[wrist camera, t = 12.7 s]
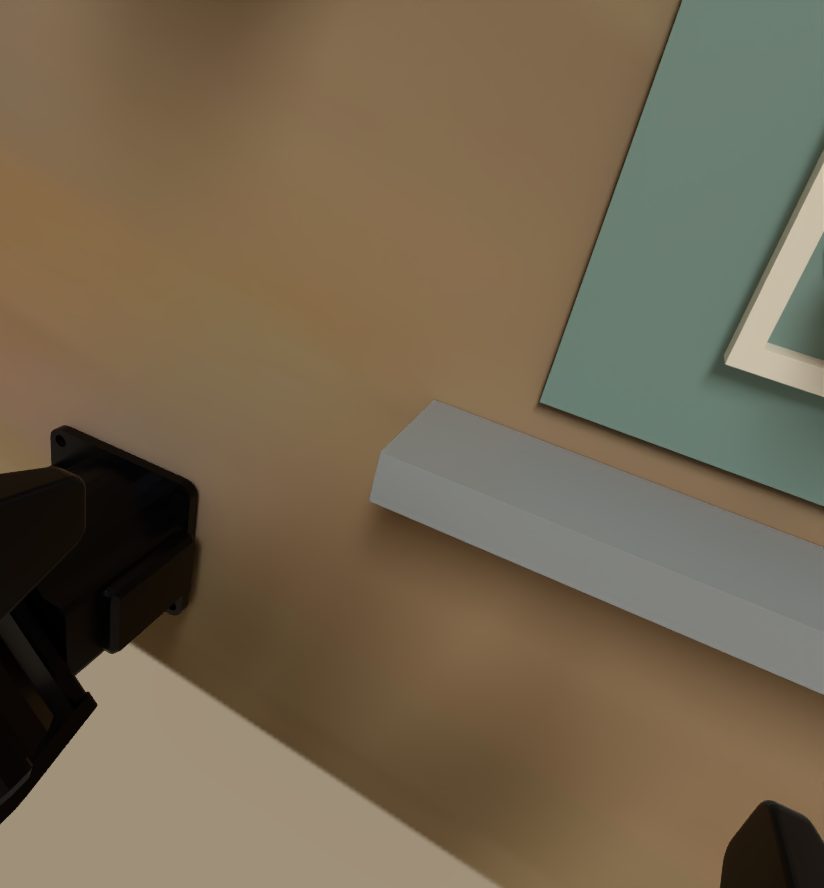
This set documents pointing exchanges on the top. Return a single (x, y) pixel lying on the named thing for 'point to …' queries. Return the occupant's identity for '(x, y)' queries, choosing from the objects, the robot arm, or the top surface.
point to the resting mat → (715, 255)
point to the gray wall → (613, 538)
